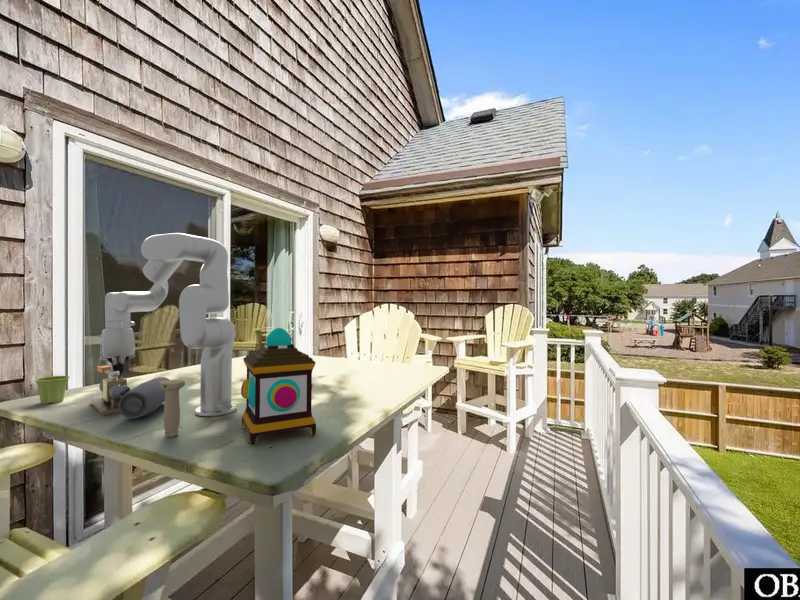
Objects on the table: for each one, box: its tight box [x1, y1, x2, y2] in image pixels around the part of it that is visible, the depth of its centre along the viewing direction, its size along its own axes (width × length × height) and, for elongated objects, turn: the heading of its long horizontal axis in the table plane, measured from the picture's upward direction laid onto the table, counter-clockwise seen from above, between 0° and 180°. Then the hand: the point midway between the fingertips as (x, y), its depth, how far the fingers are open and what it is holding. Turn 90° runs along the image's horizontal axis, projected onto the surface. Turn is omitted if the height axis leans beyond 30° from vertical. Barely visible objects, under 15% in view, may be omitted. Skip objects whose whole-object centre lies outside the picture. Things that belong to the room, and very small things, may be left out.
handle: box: [159, 379, 186, 438], centre depth 106 cm, size 5×6×15 cm
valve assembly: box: [90, 375, 132, 416], centre depth 135 cm, size 20×12×11 cm, turn 48°
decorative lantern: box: [240, 327, 317, 446], centre depth 110 cm, size 20×20×30 cm
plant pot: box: [34, 375, 71, 405], centre depth 139 cm, size 9×9×9 cm
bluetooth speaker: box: [118, 376, 170, 419], centre depth 128 cm, size 23×9×10 cm, turn 13°
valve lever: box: [96, 365, 120, 377], centre depth 138 cm, size 14×3×2 cm, turn 54°
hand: (118, 374), depth 143 cm, fingers closed
